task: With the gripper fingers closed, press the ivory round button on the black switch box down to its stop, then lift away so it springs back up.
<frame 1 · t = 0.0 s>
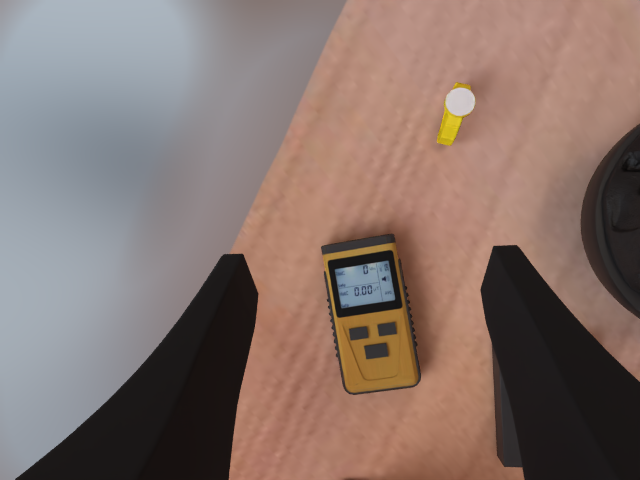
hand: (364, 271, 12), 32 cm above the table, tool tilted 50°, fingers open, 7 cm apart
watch: (447, 124, 44), on the table
switch box: (540, 397, 41), on the table
electronic device: (370, 311, 44), on the table
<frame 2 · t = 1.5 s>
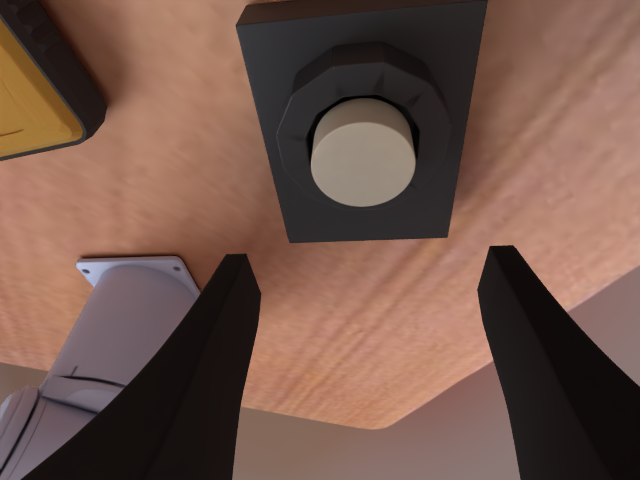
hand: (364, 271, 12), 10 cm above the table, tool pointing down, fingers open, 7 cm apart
switch box: (362, 127, 20), on the table
power button: (362, 155, 16), point 4 cm above the table, slide at 0.1 cm
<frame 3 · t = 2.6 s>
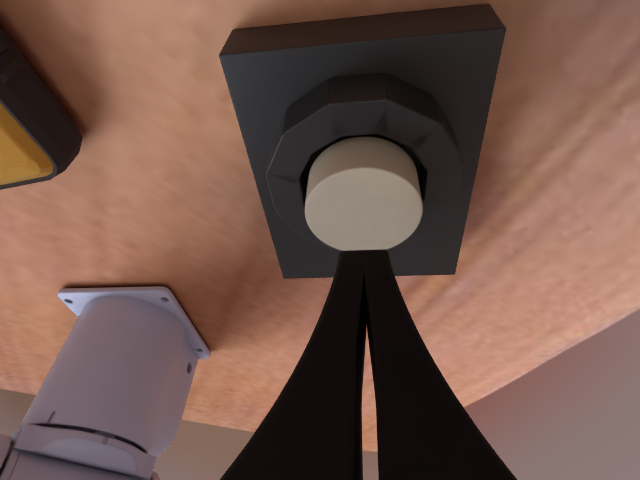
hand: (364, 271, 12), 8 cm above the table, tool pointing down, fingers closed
switch box: (362, 158, 19), on the table
power button: (362, 198, 14), point 4 cm above the table, slide at 0.1 cm
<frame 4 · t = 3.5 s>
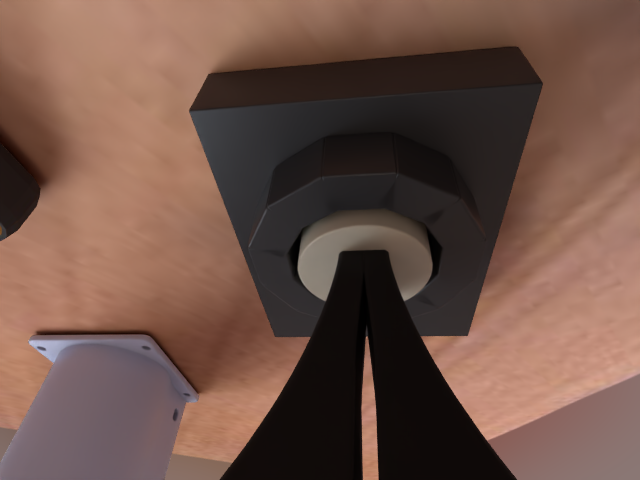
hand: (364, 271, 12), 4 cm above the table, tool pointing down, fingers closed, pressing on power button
switch box: (363, 211, 16), on the table
power button: (363, 250, 13), point 3 cm above the table, slide at -0.9 cm, touching gripper
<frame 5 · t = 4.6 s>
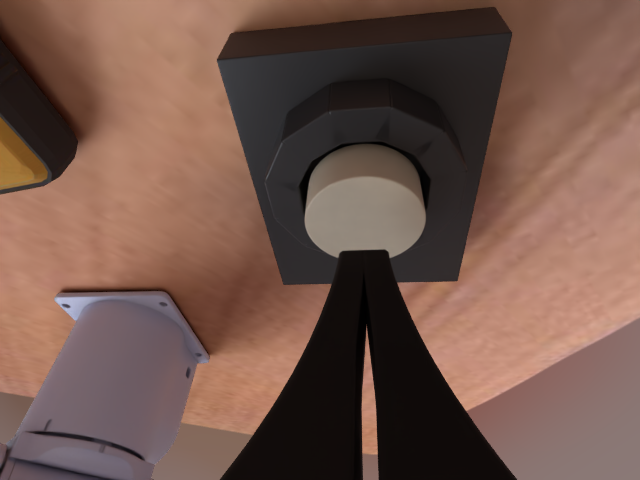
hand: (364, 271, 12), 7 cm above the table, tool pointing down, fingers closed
switch box: (363, 163, 18), on the table
power button: (364, 206, 14), point 4 cm above the table, slide at 0.1 cm
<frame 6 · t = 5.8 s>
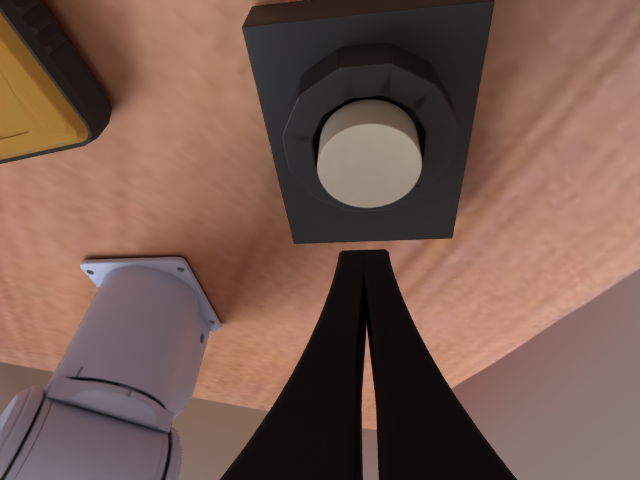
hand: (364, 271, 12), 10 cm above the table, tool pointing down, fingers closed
switch box: (367, 128, 20), on the table
power button: (368, 156, 16), point 4 cm above the table, slide at 0.1 cm
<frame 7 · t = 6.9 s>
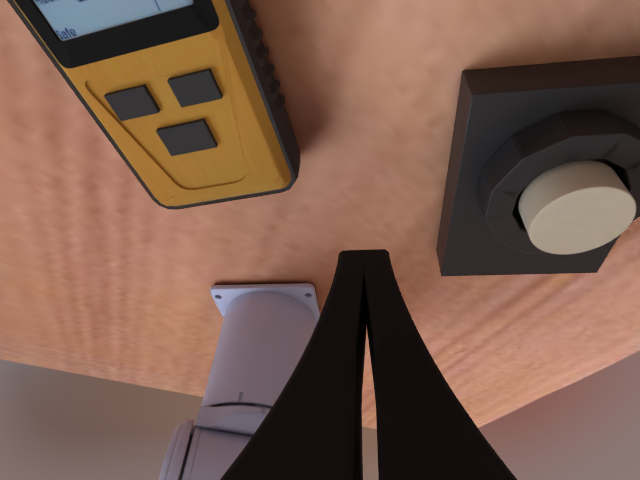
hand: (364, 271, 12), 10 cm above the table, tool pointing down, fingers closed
switch box: (533, 173, 22), on the table
power button: (573, 209, 18), point 4 cm above the table, slide at 0.1 cm
electronic device: (169, 24, 17), on the table
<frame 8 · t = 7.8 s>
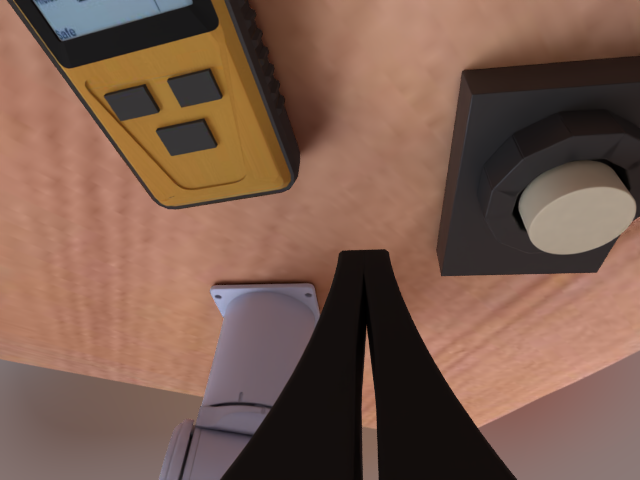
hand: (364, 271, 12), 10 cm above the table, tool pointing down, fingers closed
switch box: (533, 173, 22), on the table
power button: (573, 209, 18), point 4 cm above the table, slide at 0.1 cm
electronic device: (169, 24, 17), on the table
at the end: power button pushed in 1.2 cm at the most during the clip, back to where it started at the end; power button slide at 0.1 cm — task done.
